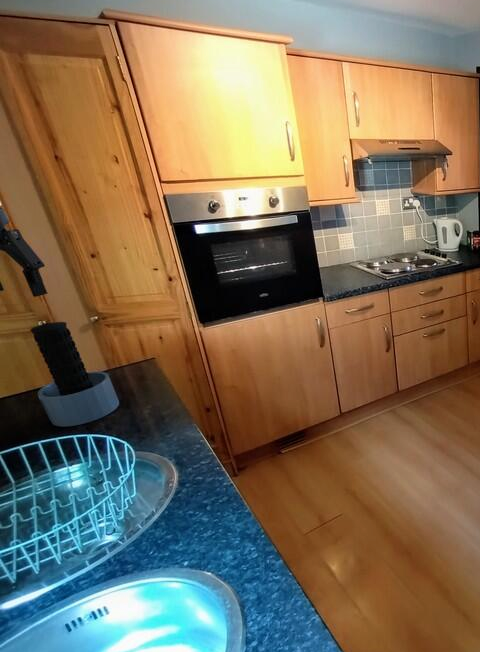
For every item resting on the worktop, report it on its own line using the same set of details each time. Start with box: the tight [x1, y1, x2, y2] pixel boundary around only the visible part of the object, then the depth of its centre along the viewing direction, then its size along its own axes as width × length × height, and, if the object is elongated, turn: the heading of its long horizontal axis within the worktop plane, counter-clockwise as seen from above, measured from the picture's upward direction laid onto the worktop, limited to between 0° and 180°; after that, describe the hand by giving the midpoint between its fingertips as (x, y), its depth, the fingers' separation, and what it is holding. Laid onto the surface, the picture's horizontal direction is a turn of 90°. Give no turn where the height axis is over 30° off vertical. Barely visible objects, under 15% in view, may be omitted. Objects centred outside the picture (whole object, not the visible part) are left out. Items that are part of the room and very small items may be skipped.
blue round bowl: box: [37, 371, 120, 427], centre depth 126 cm, size 15×15×9 cm
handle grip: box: [30, 321, 93, 396], centre depth 122 cm, size 10×26×10 cm
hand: (18, 293), depth 116 cm, fingers open, 13 cm apart
